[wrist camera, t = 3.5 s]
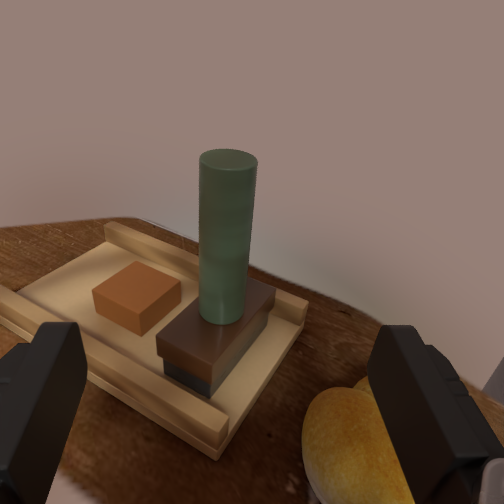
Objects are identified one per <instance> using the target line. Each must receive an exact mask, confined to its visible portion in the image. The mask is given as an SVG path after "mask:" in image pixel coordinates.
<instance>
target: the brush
mask: <svg viewBox="0 0 504 504" xmlns="http://www.w3.org/2000/svg"><path fill="white" fill-rule="evenodd" d="M257 165H258V162H257V159H256V158H255V157H254V156H253V155H251V154H249V153H247V152H244V151H240V150H233V149H215V150H210V151H207V152H204V153H203V154H201V156H200V158H199V296H198V297H197V298H196V299H195V300H194V301H192V302H191V303H190V304H189V305H188V306H187V307H186V308H185V309H184V310H182V311H181V312H180V313H179V314H178V315H177V316H176V317H175V318H174V319H173V320H171V321H170V322H169V323H168V324H167V325H166V326H165V327H164V328H163V329H162V330H160V331H159V332H158V333H157V334H156V336H155V338H156V350H157V355H158V356H159V357H161V358H163V369H164V374H165V375H167V376H169V377H171V378H172V379H174V380H176V381H178V382H179V383H181V384H183V385H185V386H186V387H188V388H190V389H192V390H193V391H195V392H197V393H199V394H200V395H202V396H204V397H206V398H207V399H210V398H211V397H212V396H213V395H214V393H215V392H216V391H217V389H218V388H219V387H220V386H221V384H222V383H223V382H224V380H225V379H226V378H227V377H228V375H229V374H230V373H231V371H232V370H233V369H234V367H235V366H236V365H237V364H238V362H239V361H240V360H241V358H242V357H243V356H244V355H245V353H246V352H247V351H248V349H249V348H250V347H251V345H252V344H253V343H254V342H255V340H256V339H257V338H258V336H259V335H260V334H261V333H262V331H263V330H264V329H265V327H266V326H267V322H268V315H269V312H270V311H271V310H272V309H273V307H274V302H275V296H276V288H274V287H272V286H270V285H267V284H265V283H262V282H260V281H257V280H255V279H252V278H250V277H248V276H247V273H248V263H249V251H250V241H251V230H252V219H253V208H254V197H255V186H256V176H257V175H256V174H257Z"/></svg>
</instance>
